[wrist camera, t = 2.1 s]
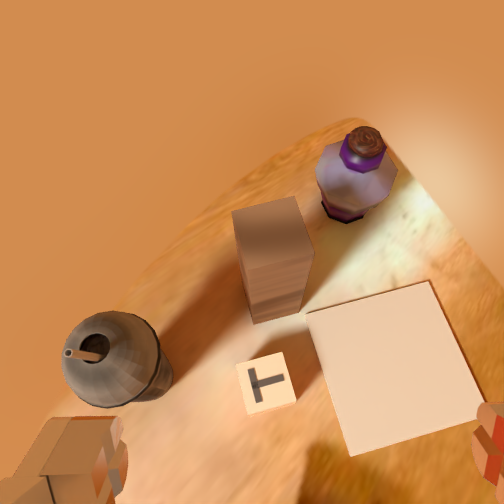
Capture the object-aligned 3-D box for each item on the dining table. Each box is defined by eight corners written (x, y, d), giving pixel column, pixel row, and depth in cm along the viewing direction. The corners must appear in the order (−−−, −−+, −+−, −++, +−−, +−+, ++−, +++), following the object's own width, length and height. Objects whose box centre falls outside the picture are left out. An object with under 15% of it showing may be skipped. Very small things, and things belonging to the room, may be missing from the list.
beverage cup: (177, 332, 44) (115, 259, 26) (194, 401, 42) (139, 374, 23) (109, 354, 44) (-3, 295, 25) (122, 425, 41) (6, 417, 23)
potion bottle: (396, 203, 50) (433, 138, 39) (347, 249, 48) (372, 193, 37) (342, 161, 53) (362, 88, 42) (293, 202, 50) (301, 137, 39)
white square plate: (487, 415, 40) (490, 414, 40) (350, 456, 39) (351, 456, 39) (426, 282, 46) (428, 281, 45) (304, 315, 45) (304, 314, 44)
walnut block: (298, 312, 45) (314, 252, 30) (253, 324, 44) (247, 270, 30) (285, 270, 47) (294, 195, 32) (242, 281, 46) (231, 211, 32)
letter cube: (293, 404, 41) (296, 400, 37) (249, 417, 41) (247, 414, 37) (280, 359, 43) (282, 351, 39) (238, 371, 43) (235, 364, 38)
